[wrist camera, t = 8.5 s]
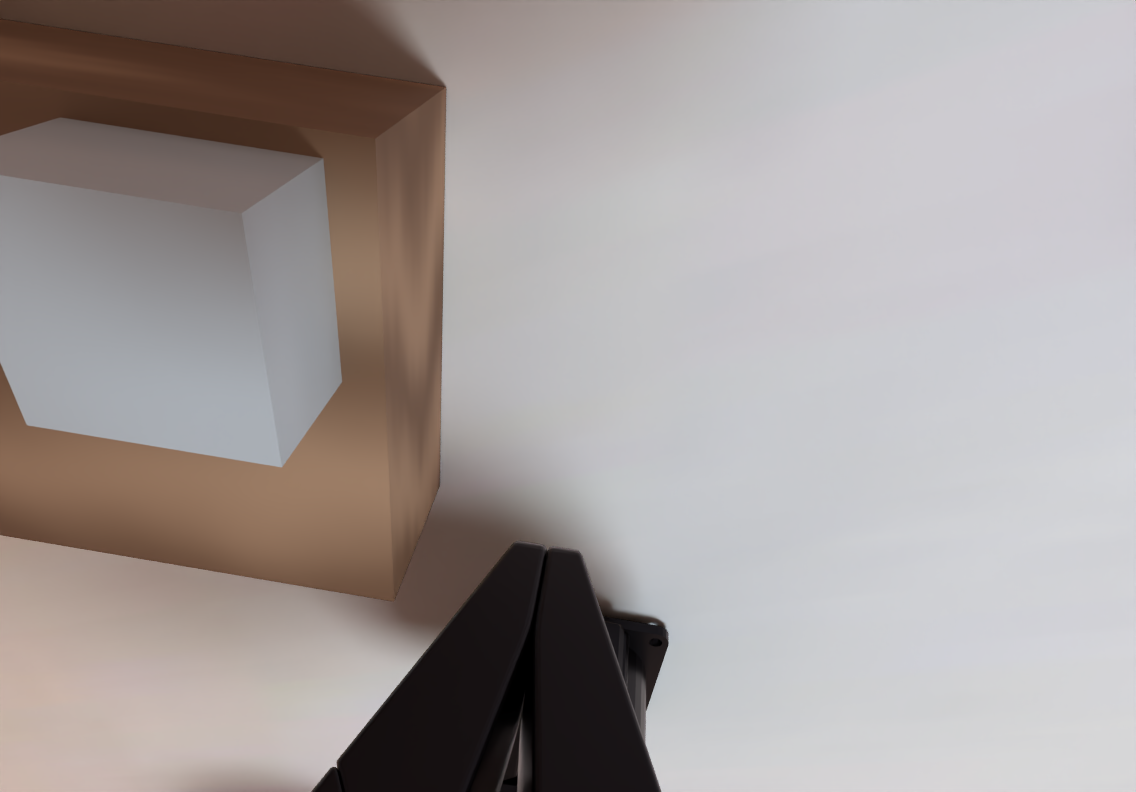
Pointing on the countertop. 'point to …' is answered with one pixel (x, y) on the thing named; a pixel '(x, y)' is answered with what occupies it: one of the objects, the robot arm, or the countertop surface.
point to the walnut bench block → (363, 307)
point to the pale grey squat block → (166, 289)
